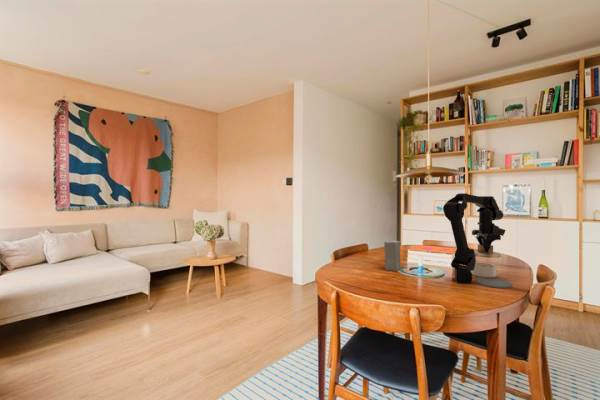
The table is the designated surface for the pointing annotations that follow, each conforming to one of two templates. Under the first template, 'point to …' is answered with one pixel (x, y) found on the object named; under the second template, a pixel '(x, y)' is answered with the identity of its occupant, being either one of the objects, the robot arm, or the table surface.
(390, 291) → the table surface
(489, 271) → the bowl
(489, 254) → the lid
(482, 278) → the mat
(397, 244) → the skincare box
